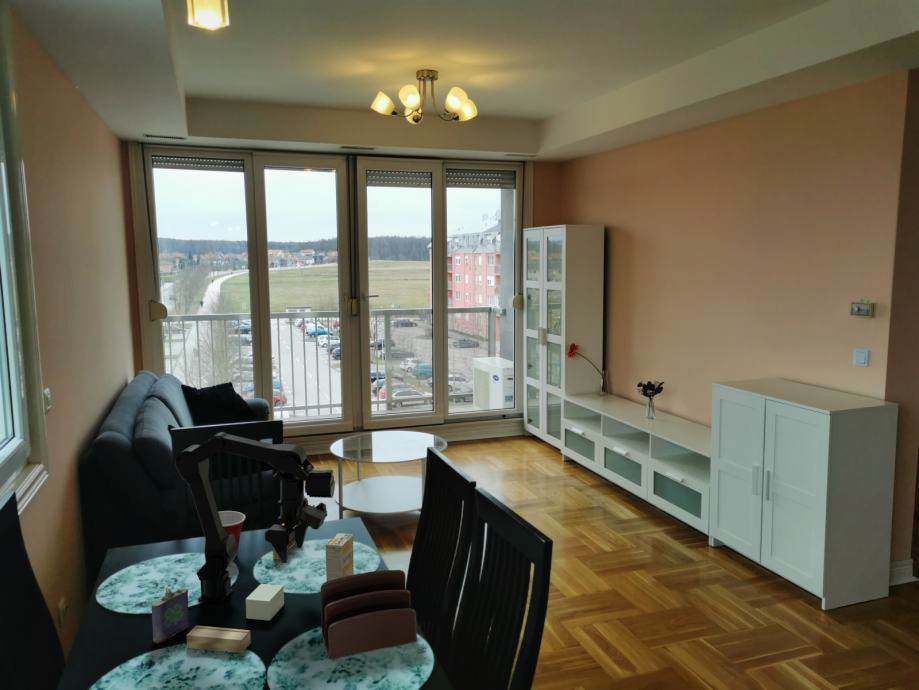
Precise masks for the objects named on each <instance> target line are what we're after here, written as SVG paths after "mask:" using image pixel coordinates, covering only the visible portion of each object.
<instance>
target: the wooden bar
mask: <svg viewBox="0 0 919 690" xmlns="http://www.w3.org/2000/svg"><path fill="white" fill-rule="evenodd" d="M251 641H252V640H251V630H246V629H239V628H228V627H227V628H226V627H214V626H206V625H205V626H204V625H195V626H194V627H193V628H192V629H191V630H190V631H189V632H188V633H187V634H186V648H187V649H197V650H206V651H207V650H208V651H215V650H220V651H219V652H225V651H228V652H227V653H236V652H238V653H237V654H242V652H243V653H244V652H245V650H246V649H247V648H248V647H249V646H250V644H251Z"/></svg>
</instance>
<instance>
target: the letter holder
mask: <svg viewBox="0 0 919 690" xmlns="http://www.w3.org/2000/svg"><path fill="white" fill-rule="evenodd" d="M406 578H407V577H406V572H405V570H401V569H385V570H375V571H367V572H362V573H361V572H360V573H356V574H355V573H354V575H350V576H346V577H342V578H338V579H334V580H331V581H327V580H326V581H324V582H323V583H322V584H321V586H320V607H321V613H320V614H321V616H320V617H321V619H320V620H321V637H322V642H323V645H324V647H325V648H324V649H325V651H326V654H327V657H328V659H329V660H330V659H331V658H332V659H337V658H342V657H346V656H347V657H348V656H353V655H356V654H361V653H367V652H372V651H376V650H382V649H387V648H391V647H396V646H397V647H398V646H402V645H407V644H411V643H416V642H417V641H418V637H417V636H418V634H417V630H418V629H417V611H416V610H415V609H414V608H412V602H411V600H412V599H411V598H412V597H411V596H412V595H411V594H412V593H411V591H410V590H408V589H406V584H407V583H406V581H407V580H406ZM332 659H331V660H332Z"/></svg>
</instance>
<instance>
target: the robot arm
mask: <svg viewBox="0 0 919 690" xmlns="http://www.w3.org/2000/svg"><path fill="white" fill-rule="evenodd" d="M219 452H224V453H228V454H231V455H235V456H236V455H237V456H240V457H244V458H247V459H253V460H257V461H260V462H264V463H266V464H268V465H270V466H271V467H273V468H274V469H277V472H276V473H275V474H274V475H273V476H272V478H271V479H272V481H273V480H274V481H280V500H278V501H277V507H280V515H279V516H278V517H277V522H278V523H282V524H284V525H282V524H275V523H274V524H273V525H272V526H271V527H269V528H268V529H267V530H266V531H265V532H264V541H265V542H268V543H270V545H271V546H272V548H273V547H274V549H275V551H276V552H277V554H278V556H279V560H280V562H281V563H282V564H287V563H288V558H289V551H290V549H289V544H290V543H291V542H292V541H293V540H294V539H295V545H296V548H297V549H303V546H304V542H305V539H306V535H307V532H308V529H309V527H310V528H311V529H312V530H315V531H317V530H319V529H320V528H321V527H322V526H323V525H324V522H325V519H326V518H327V516H329V515H328V510H327V505H326V503H324V502H321V501H320V503H319V504H317V505H315V504H313V505H310V504H309V500H308V497H309V498H324V499H325V498H326V499H328V498H329V499H333V497H334V494H335V490H336V489H335V488H336V487H335V486H336V480H335V476H334V472H333V471H334V470H333V469H325V470H316V469H315V466H314V465H313V463H311V461H310V460H309V458H308V457H307V453H306V451H305V449H304V447H303V446H302V445H299V444H293V443H292V444H290V443H279V444H278V443H277V444H272V443H267V442H262V441H258V440H254V439H250V438H247V437H246V438H245V437H242V436H239V435H238V436H237V435H233V434H229V433H228V432H227V433H226V432H224V431H220V432H218V433H216V434H214V435H213V436H212V437H211V438H209V439H208V440H206V441H204V442H203V443H201V444H192V445H190V446H189V447H187V448H185V449H184V450H182V451H181V452H179V453H178V454H177V456H176V458H175V459H174V460H175V461H174V464H175V467H176V469H177V472H178V474H179V475H180V477H181V478H182V479H183V480H184V481H185V483H186V484H187V485H188V486H189V489H190V493H191V495H192V499H193V502H194V505H195V509H196V511H197V515H198V519H199V521H200V525H201V529H202V531H203V535H204V538H205V542H204V559H205V561H204V562H205V563H203V565H202V566H201V567H200V568H199V569H198V570H197V572H196V576H197V578H198V580H199V581H200V582H199V583H200V596H198V597H197V601H200V602H210V603H222V602H223V601H224V600H225V599H226V598H228V596H229V595H231V593H232V592H233V591H234V589H233V588H232V579H231V578H232V577H230V571H229V570H227V569H228V568H229V566H230V565H232V563H233V561H234V559H235V558H236V557H237V556H238V553H237V549H238V550H239V546H238V545H237V544H236V542H235V536H234V534H231V535H228V534H227V533H226V532H225V531H224V529H223V526H222V522H221V519H220V516H219V513H218V512H219V510H218V507H217V506H218V505H217V503H216V499H215V496H214V494H213V489H212V486H211V483H210V479H209V471H210V461H209V460H210V459H209V458H210V457H212V456H213V455H215V454H216V453H219ZM305 494H306V496H308V497H305ZM236 555H237V556H236Z"/></svg>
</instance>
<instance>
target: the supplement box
mask: <svg viewBox="0 0 919 690" xmlns="http://www.w3.org/2000/svg"><path fill="white" fill-rule="evenodd" d="M325 567H326V568H325V573H326V575H325V576H326V582H327V581H331V580H334V579H338V578H342V577H346V576H350V575H355V570H354V568H355V566H354V534H352V533H339V532H337V533H336V534H335V535H334V536H333V537H332V538H331V539H330V540H329V541H328V542H327V543H326V544H325Z"/></svg>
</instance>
